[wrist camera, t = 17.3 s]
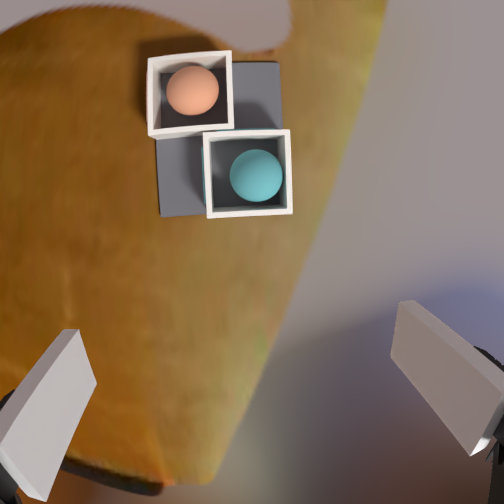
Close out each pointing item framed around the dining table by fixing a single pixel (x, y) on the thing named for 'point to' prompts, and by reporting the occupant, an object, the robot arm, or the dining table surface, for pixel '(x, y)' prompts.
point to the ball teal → (256, 175)
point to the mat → (222, 152)
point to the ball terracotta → (192, 90)
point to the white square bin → (283, 159)
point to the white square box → (173, 65)
